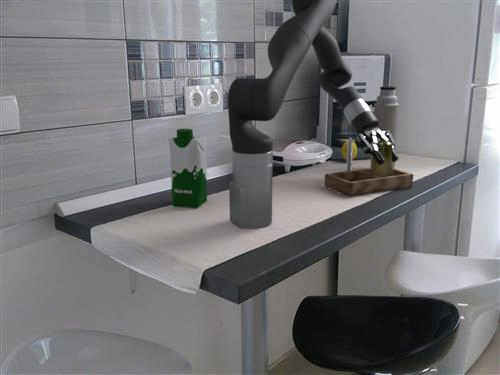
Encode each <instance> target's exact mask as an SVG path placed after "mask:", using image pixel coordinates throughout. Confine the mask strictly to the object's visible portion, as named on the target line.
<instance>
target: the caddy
mask: <svg viewBox="0 0 500 375" xmlns="http://www.w3.org/2000/svg"><path fill="white" fill-rule="evenodd" d="M413 180H414V174H413V173H411V172H410V173H409V172H407V171H403V170H399V169H397V168H394V169H393V176H390V177H378V176H375V175H373V173H372V168H370V167H369V168H362V169H353V170H352V171H345V172H341V171H337V172H331V173H325V174H324V188H326V187H327V188H326V189H328V188H330V189H329V190H331V189H332V190H331V191H333V190H335V191H334V192H336V191H337V192H336V193H338V192H340V193H339V194H341V193H342V194H341V195H343V194H344V195H343V196H345V197H348V196H349V197H348V198H351V197H352V196H353V197H357V196H358V197H359V196H365V195H370V194H371V195H372V194H377V193H378V194H379V193H384V192H390V191H398V190H402V189H403V190H404V189H410V188H413V182H414V181H413Z"/></svg>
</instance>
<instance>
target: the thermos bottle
mask: <svg viewBox="0 0 500 375" xmlns="http://www.w3.org/2000/svg"><path fill="white" fill-rule="evenodd" d="M398 100H399V99H398V96H396V87H395V86H390V85H389V86H388V85H387V86H386V85H385V86H379V95H378V96H376V102H375V103H374V105H373V114H374V115H375V117H376V118H377V120H378V121H379V125H378V127H379V129H381V130H382V132H386V131H387V130H389V131H390V133H391V135H392V137H393V139H394V141H395V143H396V144H397V142H398V141H397V139H398V126H399V113H400V112H399V111H400V104H399V103H398ZM382 143H384V140H383V142H382ZM390 143H391V142H390ZM391 144H392V143H391ZM377 147H378V146H377ZM393 149H394V151H395V152H397V145H396V146H395V147H394V148H393ZM383 152H384V149H383ZM382 156H383V154H382ZM372 159H373V155H370V166H369V168H372ZM395 163H396V162H392V166H393V169H396V168H395Z"/></svg>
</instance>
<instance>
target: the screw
mask: <svg viewBox="0 0 500 375" xmlns="http://www.w3.org/2000/svg"><path fill="white" fill-rule="evenodd" d="M347 141H348V146H347V147H348V148H347V160H346V164H345V165H346V166H345V167H346V168H342V170H341V171H340V172H345V171H352V170H354V169H353V167H352V166H353V159H352V150H353V149H352V148H353V147H352V146H353V145H352V142H353V138H352V137H349V138H348V140H347Z"/></svg>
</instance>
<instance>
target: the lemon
mask: <svg viewBox="0 0 500 375" xmlns="http://www.w3.org/2000/svg"><path fill="white" fill-rule="evenodd" d="M352 145H353V146H352V147H353V148H352V149H353V150H352V160H354V159H355V158H357V157H356V156H357V154H358V148H357V143H356V142H354V141H352ZM347 146H348V140H346V141H345V142H344V143H343V145H342V147H341V155H342V158H343V159H344V160H345V161H347V148H348V147H347Z"/></svg>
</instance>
